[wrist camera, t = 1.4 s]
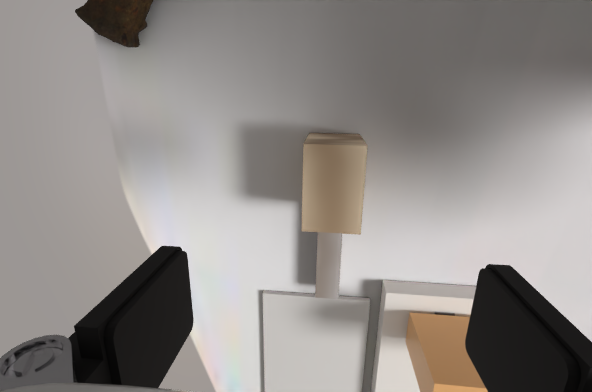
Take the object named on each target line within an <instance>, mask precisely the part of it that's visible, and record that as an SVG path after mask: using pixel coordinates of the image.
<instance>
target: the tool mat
mask: <svg viewBox="0 0 592 392" xmlns="http://www.w3.org/2000/svg"><path fill="white" fill-rule="evenodd" d="M369 311H370V298H362V297H349V296H338V299H328V298H315V294H307V293H294V292H280V291H266V290H264V291H263V333H264V382H265V392H362V384H363V373H364V363H365V353H366V342H367V332H368V321H369Z"/></svg>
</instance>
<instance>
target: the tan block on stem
mask: <svg viewBox="0 0 592 392" xmlns="http://www.w3.org/2000/svg"><path fill="white" fill-rule="evenodd" d="M366 159H367V144H366V143H365V141H364V140H363V138H362V137H361V135H360V134H332V133H309V135H308V136H307V138H306V140H305V142H304V144H303V186H302V231H306V232H318V236H317V264H316V291H315V298H328V299H338V296H339V279H340V263H341V247H342V233H343V234H361V222H362V209H363V197H364V184H365V171H366Z"/></svg>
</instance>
